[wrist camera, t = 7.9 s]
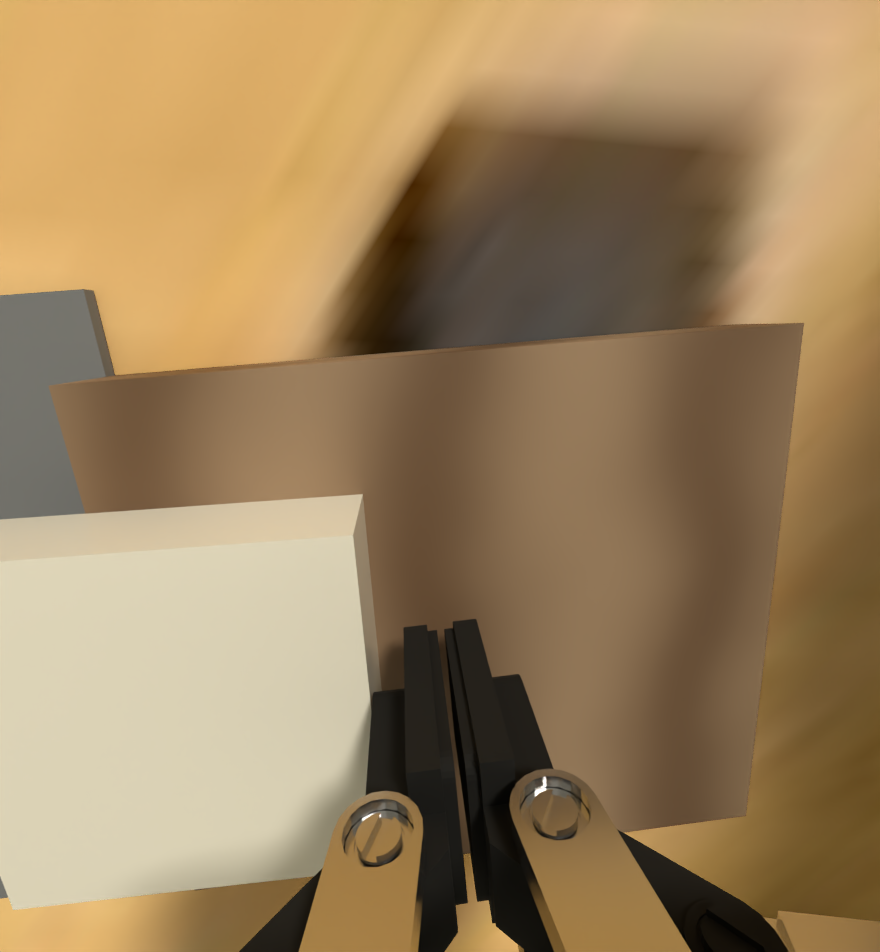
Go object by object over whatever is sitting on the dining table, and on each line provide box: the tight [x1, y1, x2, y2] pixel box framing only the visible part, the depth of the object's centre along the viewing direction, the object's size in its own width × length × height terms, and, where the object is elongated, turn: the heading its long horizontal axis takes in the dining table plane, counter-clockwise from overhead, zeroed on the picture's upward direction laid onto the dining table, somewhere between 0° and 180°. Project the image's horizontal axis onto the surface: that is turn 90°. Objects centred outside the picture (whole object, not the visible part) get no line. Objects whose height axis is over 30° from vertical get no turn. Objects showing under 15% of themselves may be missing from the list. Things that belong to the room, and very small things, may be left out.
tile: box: [0, 494, 382, 910], centre depth 11 cm, size 8×8×2 cm
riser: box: [49, 323, 804, 890], centre depth 14 cm, size 16×14×2 cm
